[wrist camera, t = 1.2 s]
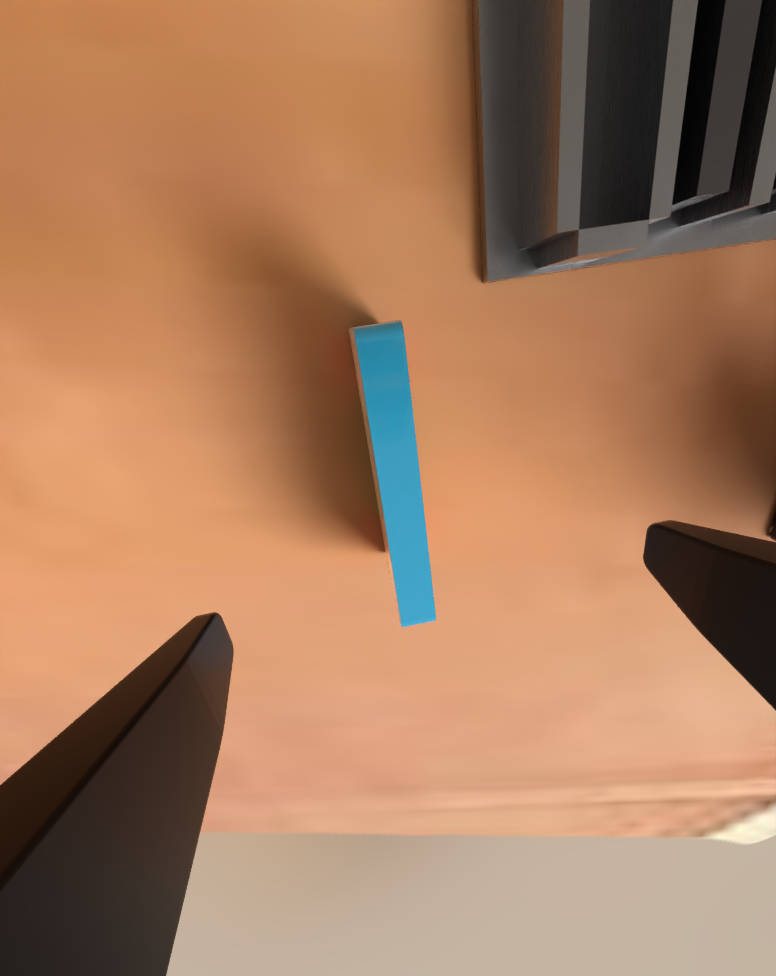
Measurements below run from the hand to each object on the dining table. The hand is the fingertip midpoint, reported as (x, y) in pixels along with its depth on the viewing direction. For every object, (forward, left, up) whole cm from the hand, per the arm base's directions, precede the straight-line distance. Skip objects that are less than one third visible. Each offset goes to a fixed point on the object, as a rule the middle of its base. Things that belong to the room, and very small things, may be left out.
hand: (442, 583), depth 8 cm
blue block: (-1, 0, -12) cm, 12 cm away
